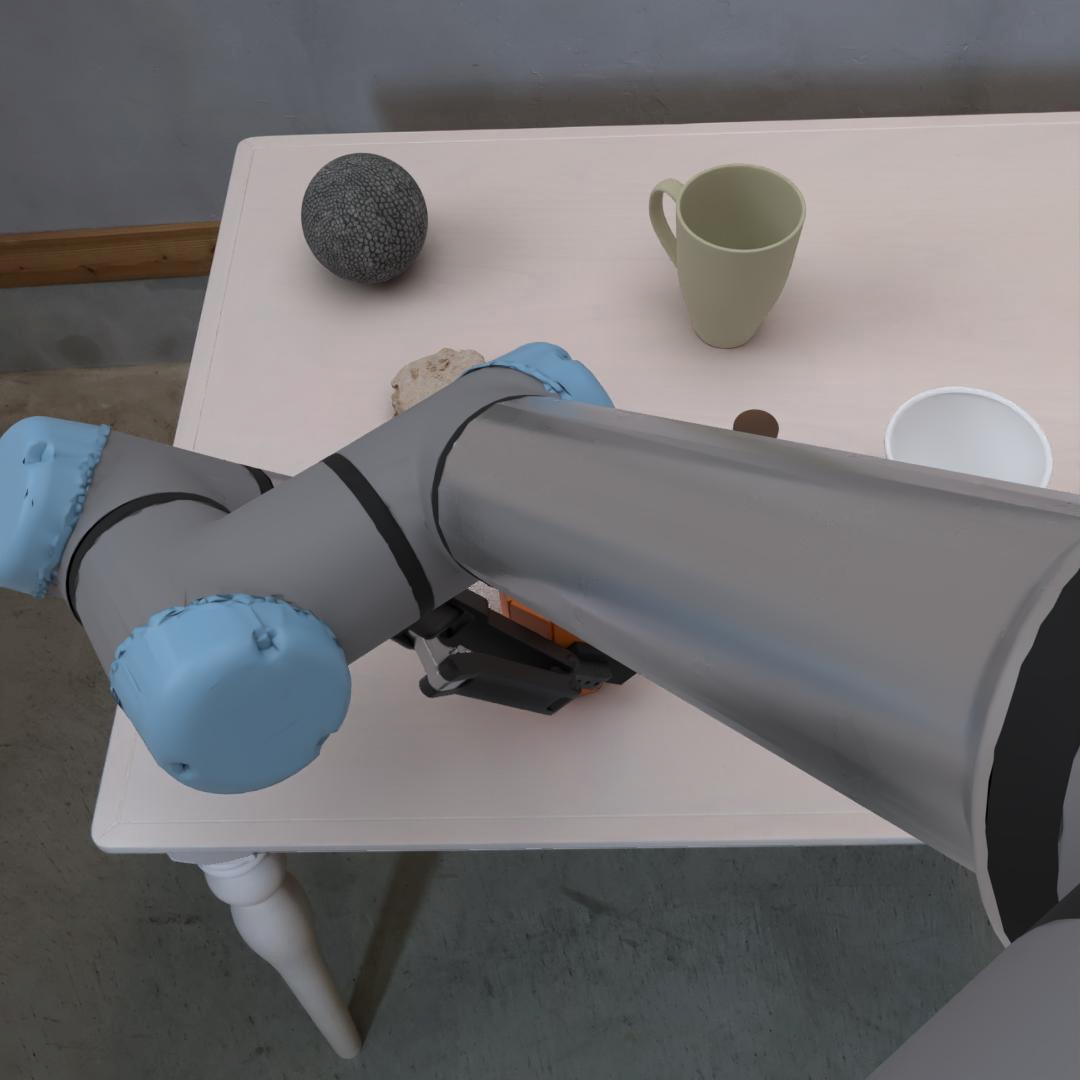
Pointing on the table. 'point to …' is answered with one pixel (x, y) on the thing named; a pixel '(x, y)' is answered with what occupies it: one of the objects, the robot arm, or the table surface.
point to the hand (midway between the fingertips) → (613, 618)
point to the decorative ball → (364, 218)
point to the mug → (730, 245)
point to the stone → (430, 376)
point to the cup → (970, 436)
